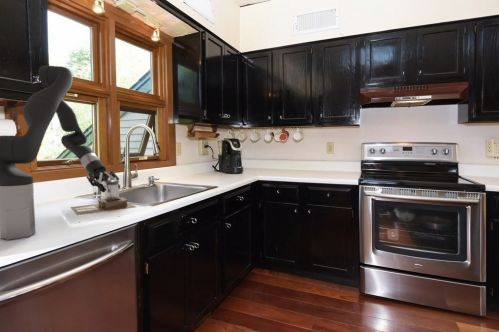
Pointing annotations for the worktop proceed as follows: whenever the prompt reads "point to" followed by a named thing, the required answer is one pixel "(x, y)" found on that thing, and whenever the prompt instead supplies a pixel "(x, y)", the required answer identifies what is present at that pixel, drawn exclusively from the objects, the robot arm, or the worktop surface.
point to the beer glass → (104, 194)
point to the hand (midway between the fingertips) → (112, 189)
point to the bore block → (103, 206)
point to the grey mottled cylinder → (112, 190)
